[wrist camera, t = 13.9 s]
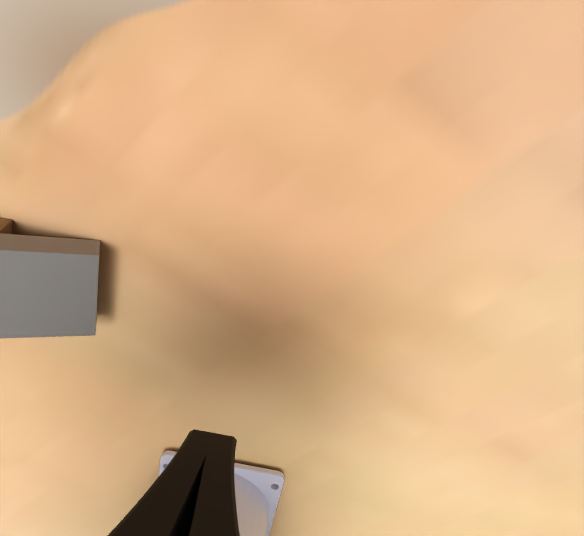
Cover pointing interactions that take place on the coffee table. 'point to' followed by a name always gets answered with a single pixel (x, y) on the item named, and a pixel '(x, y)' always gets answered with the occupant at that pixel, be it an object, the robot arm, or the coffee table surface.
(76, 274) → the tile
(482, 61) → the coffee table surface
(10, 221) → the tile
